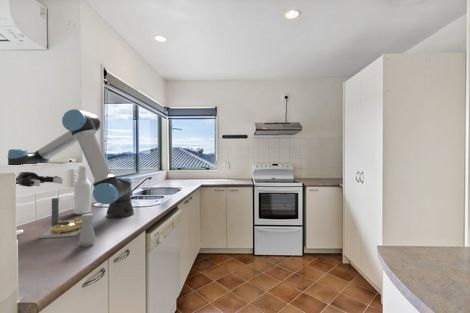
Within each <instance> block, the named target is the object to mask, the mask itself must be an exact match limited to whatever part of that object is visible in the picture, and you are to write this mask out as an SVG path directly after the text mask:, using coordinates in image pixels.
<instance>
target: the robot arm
mask: <svg viewBox="0 0 470 313" xmlns="http://www.w3.org/2000/svg"><path fill="white" fill-rule="evenodd" d="M61 118H62V120H61V123H62V127H64V128H65V129H66V130H67V131H66V132H64V133H63V134H61V135H60V136H58V137H57V138H55V139H54V140H52V141H50V142H49V143H47V144H45V145H44V146H42V147H41V148H39V149H38V150H36V151H34V152H28V150H27V149H22V148H21V149H20V148H16V149H15V148H12V149H11V148H10V149H8V153H7V166H8V165H21V164H22V165H23V164H37V163H47V162H48V163H49V161H50V159H52V158H54V157H55V156H56V155H58V154H60V153H62V152H63V151H65V150H66V149H68V148H70V147H71V146H73V145H75V144H76V143H79V146H80V149H81V150H82V153H83V155H84V158H85V160H86V163H87V166H88V167H89V170H90V172H91V174H92V177H93V179H94V181H93V182H92V186H93V191H92V197H93V199H94V200H95V201H96V202H97V203H99V204H101V205H108V207H107V211H106V217H107V218H112V219H116V218H117V219H119V218H125V217H130V216H132V215H134V213H135V210H134V206H133V204H132V179H131V178H130V177H117V176H116V175H115V174H112V173H111V170H110V167H109V165H108V163H107V160H106V157H105V156H104V153H103V150H102V149H101V148H102V147H101V146H100V143H99V140H98V139H97V136H96V134H97V132H98V131H99V129H101V121H100V118H99V117H98V116H97V115H96V114H94V113H91V112H87V111H84V110H82V109H77V108H76V109H74V108H73V109H69V110H67V111H66V112H64V114H63V116H62V117H61ZM48 163H47V164H48ZM44 183H53V184H60V185H61V184H63V178H62V177H61V176H58V175H54V176H50V175H49V176H48V175H46V176H42V175H41V176H40V175H38V174H37V173H36V172H32V171H27V172H21V173H19V175H18V176H17V177H16V184H19V185H18V186H22V187H23V186H25V187H28V188H29V187H34V186H35V187H40V186H41V184H44Z"/></svg>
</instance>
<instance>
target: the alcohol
mask: <svg viewBox="0 0 470 313" xmlns="http://www.w3.org/2000/svg"><path fill="white" fill-rule="evenodd" d="M78 169H79V170H78V179H77V180H76V181H75V183H74V192H73V193H74V195H73V197H74V198H73V200H74V201H73V202H74V204H73V206H74V208H73V213H74V214H75V215H83V214H88V213H91V211H92V184H91V181H89V179H88V172H87V170H88V169H87V165H82V164H81V165H79V167H78Z"/></svg>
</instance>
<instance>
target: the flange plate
mask: <svg viewBox="0 0 470 313" xmlns="http://www.w3.org/2000/svg"><path fill="white" fill-rule="evenodd" d="M80 232H81V228H80V229H77V230H73V231H68V232H51V229H49V230H48V231H46V232H44V233H43V234H41V235H39V239H49V238H50V239H51V238H52V239H53V238H64V237H66V238H67V237H77V236H78V235H80Z"/></svg>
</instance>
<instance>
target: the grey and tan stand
mask: <svg viewBox="0 0 470 313" xmlns="http://www.w3.org/2000/svg"><path fill="white" fill-rule="evenodd" d="M59 198H60V197H53V198H51V225H50V230H51V232H68V231H73V230H77V229H80V228H81V227H82V222H83V221H82V220H81V217H75V218H74V219H67V220H63V221H62V220H59V219H60V218H59V211H60V210H59Z"/></svg>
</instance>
